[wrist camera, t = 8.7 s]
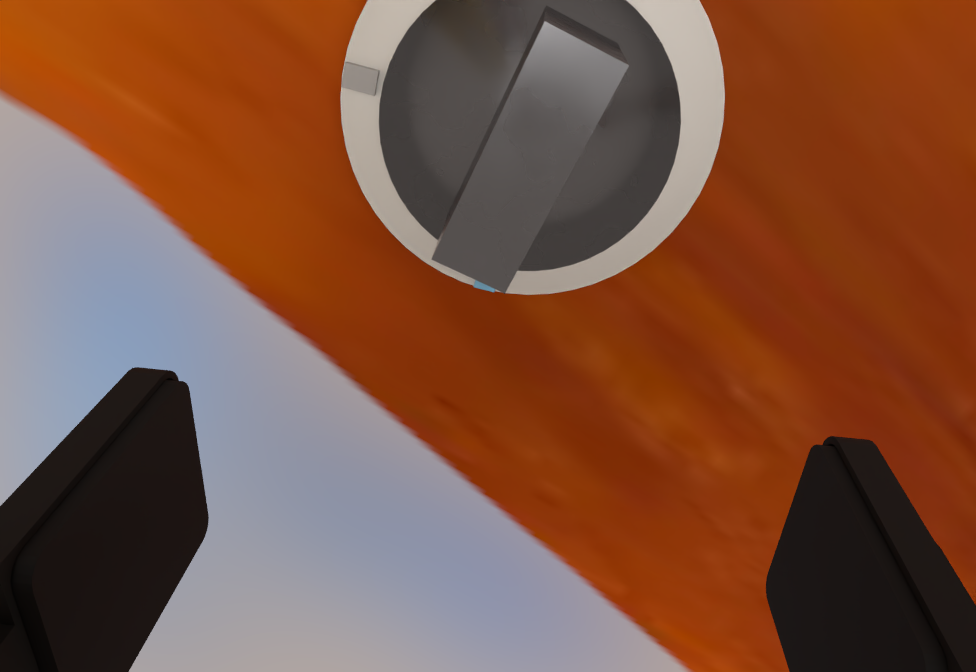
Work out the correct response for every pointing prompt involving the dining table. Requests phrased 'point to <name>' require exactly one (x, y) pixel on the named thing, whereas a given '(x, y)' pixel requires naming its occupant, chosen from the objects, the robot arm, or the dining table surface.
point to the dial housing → (701, 91)
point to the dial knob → (528, 130)
